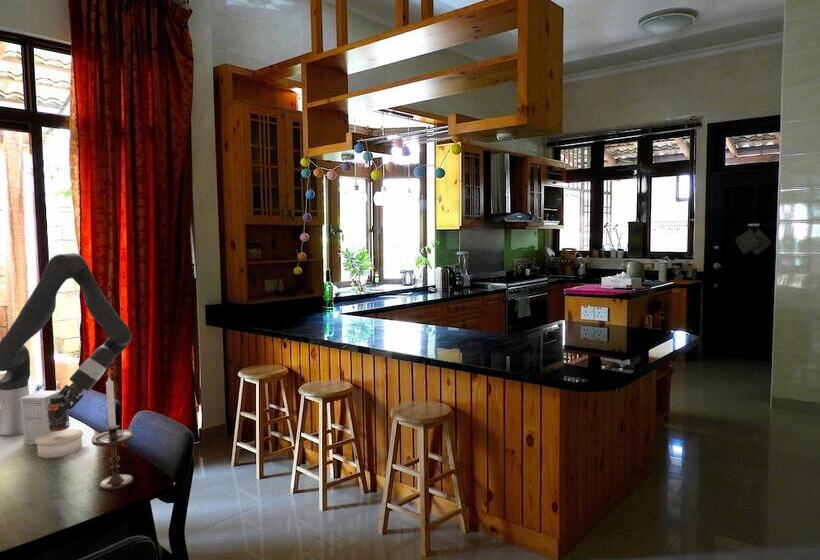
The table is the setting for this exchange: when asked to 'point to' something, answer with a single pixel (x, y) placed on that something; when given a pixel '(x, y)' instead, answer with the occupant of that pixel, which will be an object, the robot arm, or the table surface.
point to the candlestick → (113, 444)
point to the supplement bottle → (52, 408)
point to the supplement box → (35, 414)
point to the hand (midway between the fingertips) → (52, 415)
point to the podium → (59, 443)
